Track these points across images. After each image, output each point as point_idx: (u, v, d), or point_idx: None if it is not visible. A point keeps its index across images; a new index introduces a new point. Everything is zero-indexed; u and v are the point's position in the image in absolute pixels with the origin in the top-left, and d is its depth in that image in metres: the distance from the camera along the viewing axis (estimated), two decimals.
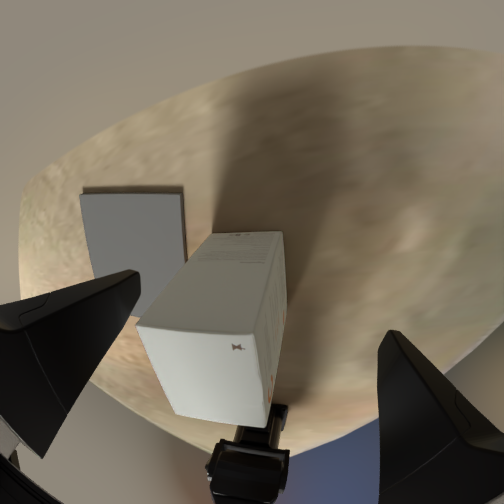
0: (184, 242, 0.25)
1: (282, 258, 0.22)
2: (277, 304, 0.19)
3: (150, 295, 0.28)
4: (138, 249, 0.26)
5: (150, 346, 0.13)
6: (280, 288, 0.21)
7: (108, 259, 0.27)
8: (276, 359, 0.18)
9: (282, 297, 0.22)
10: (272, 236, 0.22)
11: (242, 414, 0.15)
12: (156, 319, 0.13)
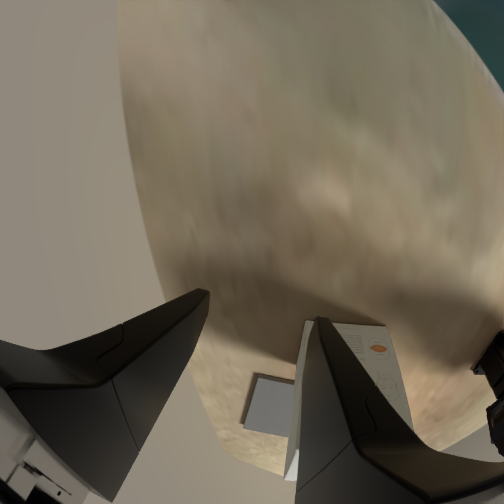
0: None
1: None
2: None
3: None
4: None
5: None
6: None
7: None
8: (388, 393, 0.16)
9: (355, 348, 0.21)
10: (303, 335, 0.24)
11: None
12: (285, 469, 0.16)
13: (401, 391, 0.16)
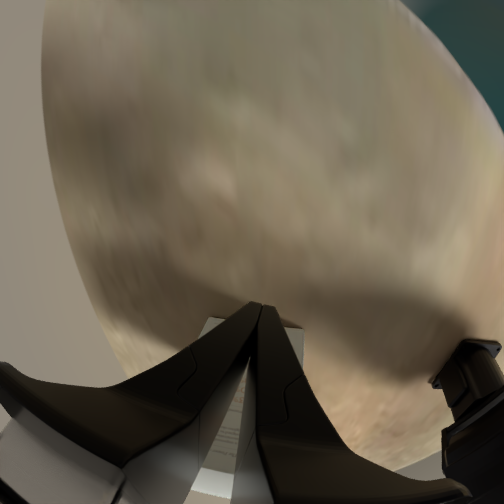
0: None
1: None
2: None
3: None
4: None
5: None
6: None
7: None
8: None
9: None
10: None
11: None
12: None
13: None
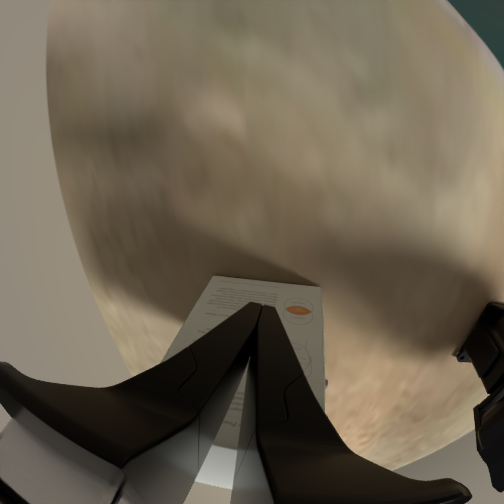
0: None
1: (228, 289, 0.19)
2: None
3: None
4: None
5: None
6: None
7: None
8: None
9: None
10: None
11: None
12: None
13: (317, 369, 0.13)
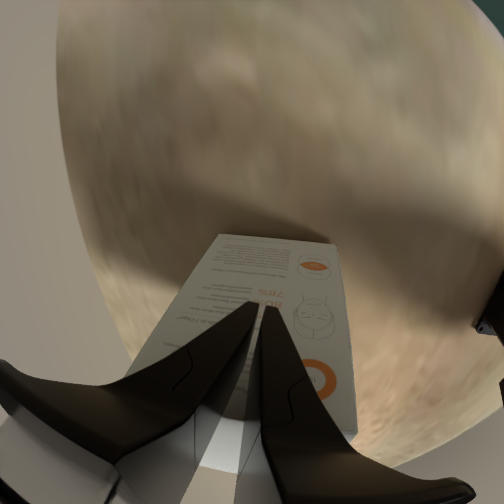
0: None
1: (236, 246, 0.17)
2: (243, 290, 0.13)
3: None
4: None
5: None
6: (249, 268, 0.15)
7: None
8: (314, 326, 0.11)
9: (275, 263, 0.15)
10: None
11: None
12: None
13: (340, 326, 0.11)
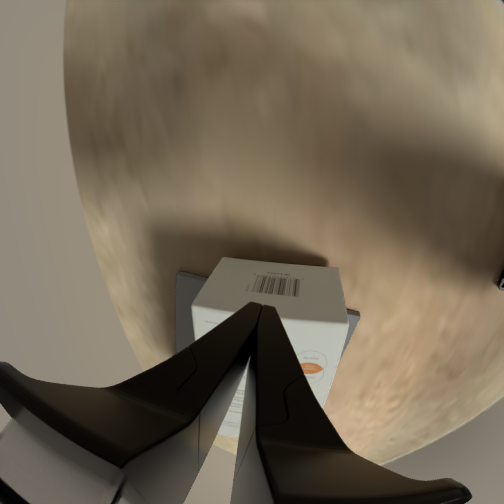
0: None
1: None
2: None
3: None
4: None
5: None
6: (246, 372, 0.15)
7: None
8: None
9: None
10: None
11: None
12: None
13: None
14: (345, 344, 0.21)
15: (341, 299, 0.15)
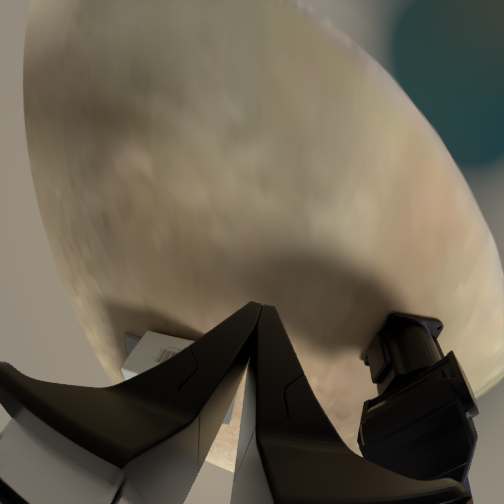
0: None
1: None
2: None
3: None
4: None
5: None
6: None
7: None
8: None
9: None
10: None
11: None
12: None
13: None
14: None
15: None
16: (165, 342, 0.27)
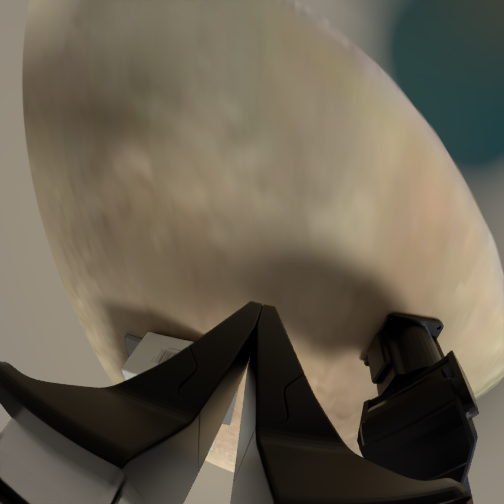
0: None
1: None
2: None
3: None
4: None
5: None
6: None
7: None
8: None
9: None
10: None
11: None
12: None
13: None
14: None
15: None
16: (165, 343, 0.27)
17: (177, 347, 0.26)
